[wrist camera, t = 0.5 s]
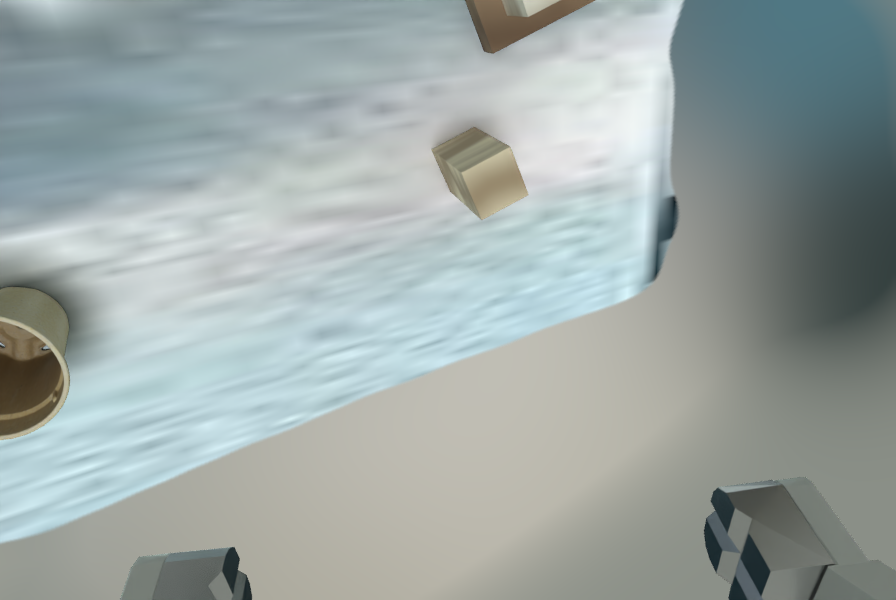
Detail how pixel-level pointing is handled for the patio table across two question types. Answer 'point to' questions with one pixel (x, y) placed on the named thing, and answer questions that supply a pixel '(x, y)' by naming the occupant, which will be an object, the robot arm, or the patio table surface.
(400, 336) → the patio table surface
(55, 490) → the patio table surface
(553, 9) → the plinth
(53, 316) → the flower pot
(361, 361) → the patio table surface
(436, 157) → the birch block
